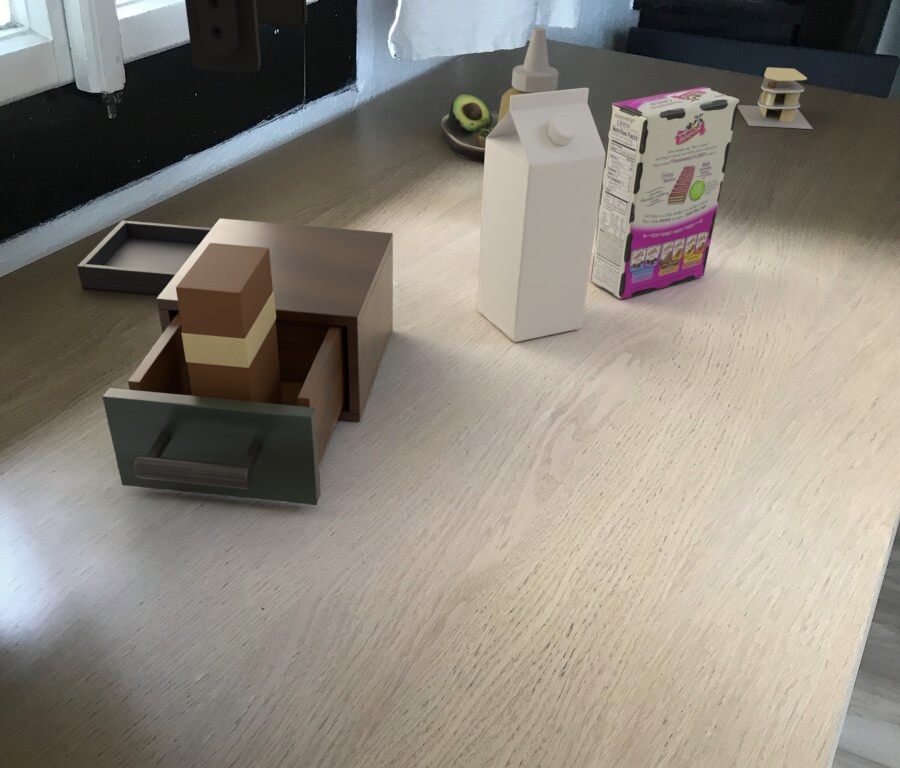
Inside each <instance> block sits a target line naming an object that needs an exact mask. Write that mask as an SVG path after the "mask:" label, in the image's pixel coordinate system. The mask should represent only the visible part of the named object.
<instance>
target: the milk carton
mask: <svg viewBox="0 0 900 768" xmlns="http://www.w3.org/2000/svg"><path fill="white" fill-rule="evenodd" d="M589 92H590V88H589V87H579V88H570V89H560V90H555V91H550V92H540V93H531V94H521V95H512V96H510V109H509V112H508V113H507V114H506V115H505V116H504V117H503V119H502V120H501V121H500V122H499V123H498V124H497V125H496V127H495V128H494V129H493V130H492V131H491V132H490V133H489V135H488V136H487V137H486V146H485V162H483V164H484V166H483V177H482V178H483V181H482V182H483V183H482V194H481V195H482V198H481V211H480V212H481V213H480V229H479V246H478V260H477V261H478V262H477V263H478V264H477V276H476V277H477V278H476V279H477V280H476V282H477V283H476V295H475V309H476V311H478V313H480V314H481V315H482V316H483V317H484V318H486V320H488V321H489V322H490V323H491V324H493V325H494V326H495V327H496V328H497V329H498V330H499V331H501V332H502V333H503V334H504V335H505V336H506V337H507V338H509V339H510V340H511V341H512V342H513V343H516V342H517V343H518V342H523V341H527V340H532V339H536V338H542V337H546V336H550V335H556V334H561V333H566V332H570V331H575V330H579V329H581V328H582V327H583V320H584V315H585V305H586V299H587V292H588V286H589V285H588V284H589V277H590V271H591V263H592V257H593V256H592V254H593V248H594V243H595V236H596V235H595V234H596V229H597V228H596V226H597V221H598V215H599V207H600V200H601V193H602V186H603V177H604V169H605V161H606V153H607V152H606V151H605V147H604V144H603V142H602V139H601V136H600V134H599V131H598V128H597V126H596V123H595V120H594V117H593V114H592V112H591V108H590V106H589V103H588V100H589Z"/></svg>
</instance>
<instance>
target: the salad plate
mask: <svg viewBox="0 0 900 768" xmlns="http://www.w3.org/2000/svg"><path fill="white" fill-rule="evenodd" d="M448 110H449V113H448V114H446V115H444V116H443V117H442V119H441V121H440V128H441V131H442V135H443V137H444V140H445V142H446V144H447V146H448V147H449V146H450V147H449V149H450V148H451V149H450V150H451V151H453V153H455V152H456V153H458V154H460V155H462V156H464V157H467V158H469V159H473V160H477V161H476V162H478V161H483V162H482V163H484V162H485V146H486V137H487V136H488V135H489V133H490V132H491V131H492V130H493V129H494V128H495V127H496V125H497V124H498V117H499V111H500V110H490V109H489V107H488V105H487V104H486V103H485V102H484V101H483V100H482V99H480V98H479V97H477V96H475V95H473V94H468V93H462V94H461V93H460V94H458V95H457V96H456V97H454V99H453V100H452V102H451V104H450V108H448ZM456 153H455V154H456ZM458 154H457V155H458ZM460 155H459V156H460ZM462 156H461V157H462ZM464 157H463V158H464ZM467 158H466V159H467ZM469 159H468V160H469ZM473 160H472V161H473Z"/></svg>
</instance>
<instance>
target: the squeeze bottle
mask: <svg viewBox="0 0 900 768" xmlns="http://www.w3.org/2000/svg"><path fill="white" fill-rule="evenodd" d="M546 31H547V30H546V28H544V27H534V28H532V32H531V36H530V40H529V44H528V47H527V51H526V54H525V57H524V62H523V64H519V65H515V66H514V67H513V68H512V73H511V74H512V75H511V86H512V88H509V89H508V90H506V91H505V92H504V93H503V95H502V96H501V99H500V104H499V105H500V106H499V110H498V111H499V117H498V123H499V122H500V121H501V120H502V119H503V117H504V116H505V115H506V114H507V113H508V112H509V109H510V96H512V95H521V94H531V93H540V92H550V91H557V89H558V85H559V84H558V83H559V75H560V72H559V71H558V69H557V68H555V67H553V66H550V64H549V52H548V42H547V41H548V40H547V33H546Z"/></svg>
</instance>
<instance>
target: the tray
mask: <svg viewBox="0 0 900 768" xmlns="http://www.w3.org/2000/svg"><path fill="white" fill-rule="evenodd" d="M212 228H213V227H206V226H205V227H203V226H190V225H182V224H181V225H180V224H169V223H158V222H147V221H145V222H144V221H136V220H135V221H133V220H121V221H120V222H119V223H118V224H117V225H116V226H115V227H114V228H113V229H112V230H111V231H110V232H109V233H108V234H107V235H106V236H105V237H104V238H103V239H102V240H101V241H100V242H99V243H98V244H97V245H96V246H95V247H94V248H93V249H92V251H90V252H89V253H88V255H87V256H85V257H84V259H83V260H82V261H80V262H79V264H77V266H76V267H77V271H78V277H79V281H80V285H81V288H82V289H91V290H101V291H102V290H103V291H113V292H124V293H133V294H146V295H157V296H159V295H160V294H161V293H162V291H163V290H164V289H165V287H166V286H167V285H168V284H169V282H170V281H171V280H172V279H173V277H174V276H175V275H176V274H177V272H178V271H179V270H180V268H181V267H182V266H183V265H184V263H185V262H186V261H187V260H188V258H189V257H190V256H191V254H192V253H193V252H194V251H195V249H196V248H197V247H198V246H199V244H200V243H201V242H202V241H203V239H204V238H205V237H206V235H207V234H208V233H209V232H210V230H211V229H212Z"/></svg>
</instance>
